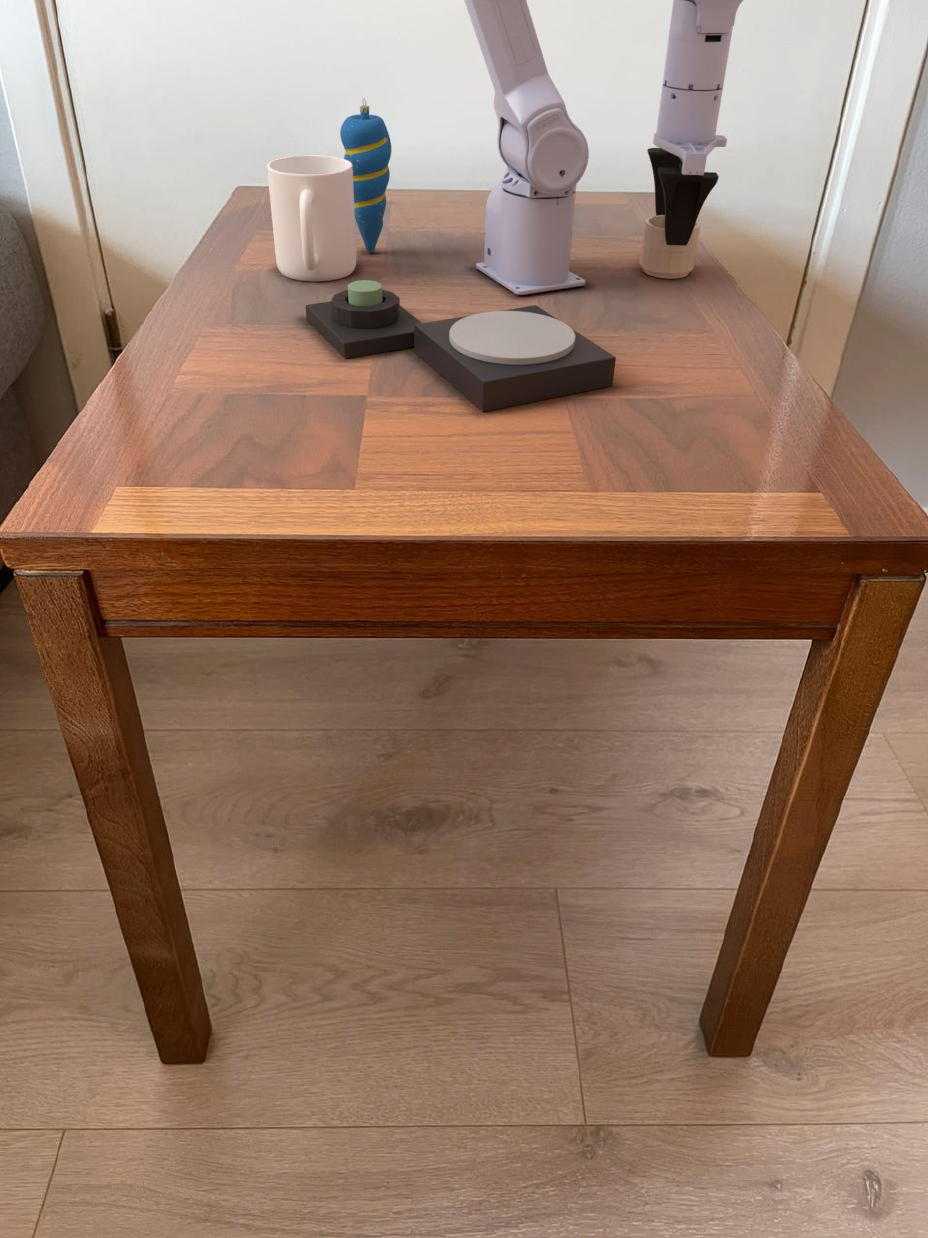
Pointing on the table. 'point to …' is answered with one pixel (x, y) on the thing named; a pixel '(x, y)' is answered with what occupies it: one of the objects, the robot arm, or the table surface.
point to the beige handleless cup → (666, 251)
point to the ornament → (368, 170)
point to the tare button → (365, 293)
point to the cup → (313, 216)
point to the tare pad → (363, 325)
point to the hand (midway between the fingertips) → (671, 233)
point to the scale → (513, 357)
